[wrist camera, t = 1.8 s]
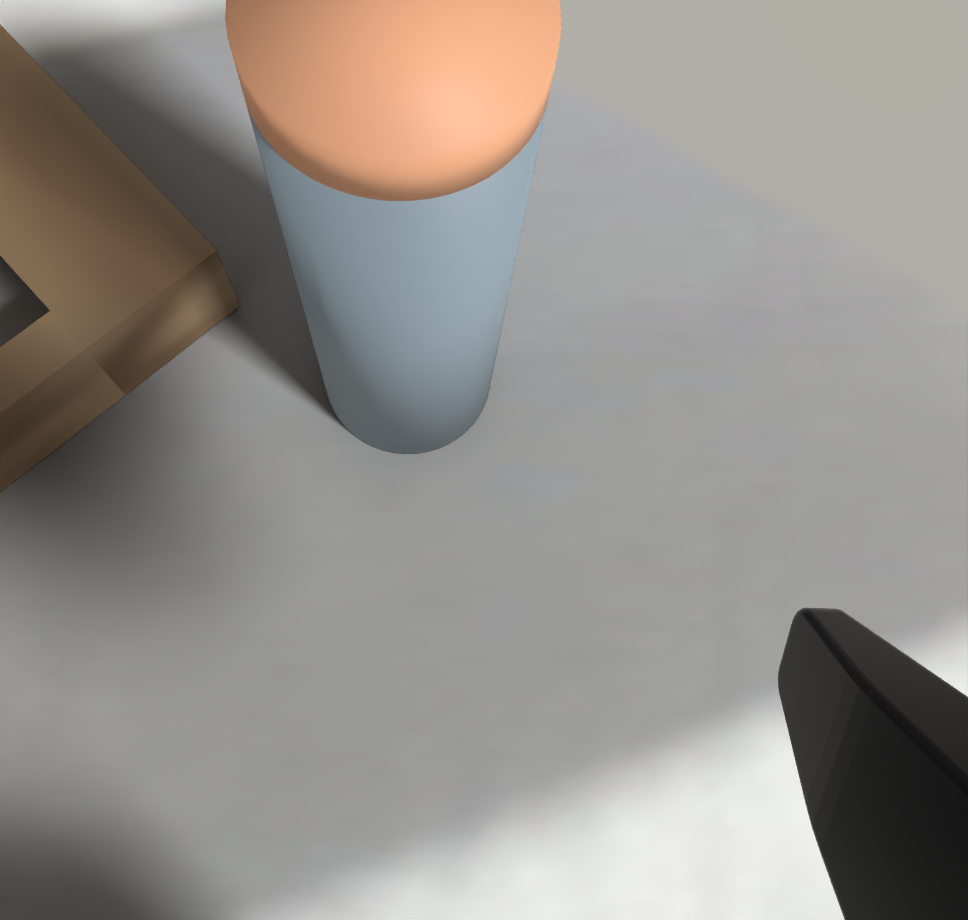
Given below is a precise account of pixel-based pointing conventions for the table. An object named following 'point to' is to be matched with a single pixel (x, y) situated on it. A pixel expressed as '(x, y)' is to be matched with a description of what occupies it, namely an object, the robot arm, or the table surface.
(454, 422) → the peg
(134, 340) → the wooden peg holder
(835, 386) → the table surface
